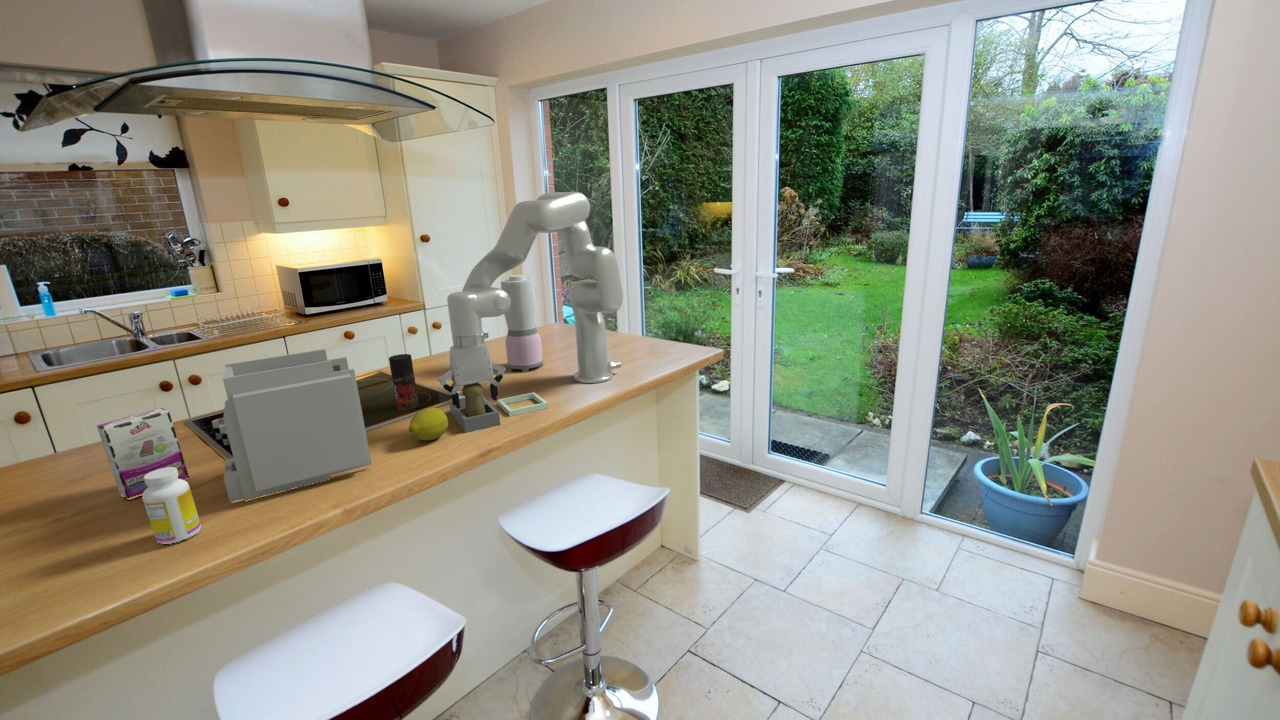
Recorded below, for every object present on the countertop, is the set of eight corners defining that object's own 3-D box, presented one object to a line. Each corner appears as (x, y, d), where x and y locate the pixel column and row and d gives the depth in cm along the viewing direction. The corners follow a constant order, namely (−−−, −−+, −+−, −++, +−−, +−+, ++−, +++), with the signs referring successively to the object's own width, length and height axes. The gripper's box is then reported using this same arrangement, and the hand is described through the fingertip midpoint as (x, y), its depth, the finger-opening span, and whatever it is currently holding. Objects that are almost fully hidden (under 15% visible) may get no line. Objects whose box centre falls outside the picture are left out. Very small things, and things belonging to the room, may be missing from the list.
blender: (530, 374, 194) (520, 279, 185) (500, 370, 199) (490, 278, 190) (555, 361, 208) (547, 272, 199) (527, 358, 213) (518, 271, 204)
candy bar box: (180, 474, 131) (161, 406, 126) (190, 479, 128) (170, 410, 124) (118, 496, 122) (94, 424, 117) (127, 502, 119) (103, 428, 115)
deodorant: (392, 408, 167) (384, 359, 163) (407, 401, 172) (399, 353, 168) (408, 410, 165) (400, 360, 160) (423, 403, 170) (415, 354, 166)
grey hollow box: (450, 411, 163) (448, 399, 162) (482, 405, 167) (480, 393, 166) (465, 432, 148) (464, 419, 147) (500, 424, 152) (498, 412, 151)
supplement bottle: (199, 521, 111) (181, 460, 107) (204, 535, 106) (186, 472, 102) (154, 536, 106) (135, 473, 103) (158, 551, 102) (137, 485, 98)
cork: (492, 418, 156) (487, 380, 153) (483, 427, 150) (478, 387, 147) (470, 418, 157) (465, 380, 154) (461, 427, 151) (456, 387, 148)
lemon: (440, 428, 151) (436, 400, 149) (458, 435, 146) (454, 405, 144) (402, 443, 143) (397, 413, 141) (419, 450, 138) (414, 419, 136)
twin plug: (479, 407, 165) (476, 383, 163) (485, 414, 159) (482, 389, 157) (456, 412, 162) (453, 388, 160) (461, 419, 156) (458, 394, 154)
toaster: (232, 477, 128) (202, 365, 121) (362, 446, 142) (342, 343, 135) (230, 510, 114) (196, 386, 107) (374, 472, 128) (353, 359, 121)
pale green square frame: (534, 396, 172) (534, 392, 171) (548, 407, 163) (547, 402, 162) (497, 404, 167) (497, 399, 166) (509, 416, 157) (509, 411, 157)
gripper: (497, 332, 155) (503, 392, 159) (430, 342, 147) (439, 405, 151) (505, 337, 148) (512, 400, 153) (436, 348, 140) (445, 414, 145)
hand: (476, 403), depth 152 cm, fingers open, 9 cm apart
